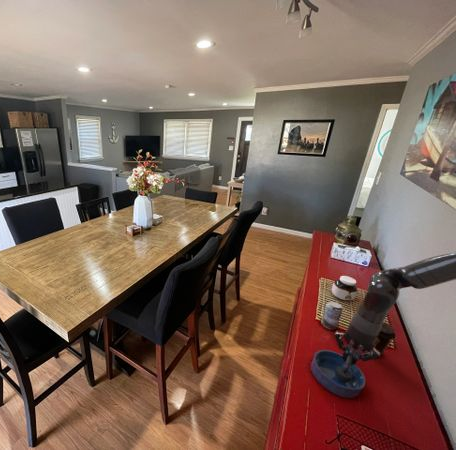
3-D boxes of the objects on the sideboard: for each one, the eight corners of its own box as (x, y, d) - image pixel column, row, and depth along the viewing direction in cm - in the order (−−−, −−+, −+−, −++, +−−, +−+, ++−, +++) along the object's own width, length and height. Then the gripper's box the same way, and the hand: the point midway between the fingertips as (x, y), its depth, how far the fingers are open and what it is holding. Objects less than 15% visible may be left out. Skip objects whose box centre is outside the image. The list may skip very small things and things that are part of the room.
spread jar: (332, 299, 129) (339, 281, 125) (326, 287, 139) (332, 270, 135) (359, 304, 126) (367, 286, 121) (350, 291, 136) (358, 274, 131)
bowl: (363, 378, 88) (368, 369, 86) (356, 409, 78) (361, 399, 76) (316, 352, 98) (320, 343, 96) (305, 376, 88) (308, 367, 86)
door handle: (348, 385, 84) (355, 371, 81) (333, 376, 86) (340, 362, 84) (355, 358, 94) (362, 345, 91) (342, 350, 96) (348, 338, 94)
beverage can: (323, 330, 109) (331, 309, 104) (317, 318, 116) (324, 298, 111) (338, 333, 108) (347, 312, 103) (332, 321, 114) (340, 301, 110)
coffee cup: (361, 338, 105) (372, 315, 100) (386, 351, 100) (399, 327, 95) (356, 348, 100) (367, 325, 95) (382, 362, 94) (395, 338, 89)
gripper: (338, 320, 84) (324, 355, 90) (390, 344, 75) (370, 381, 82) (342, 310, 89) (328, 344, 95) (392, 331, 80) (372, 367, 86)
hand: (348, 361), depth 88 cm, fingers closed on door handle, 1 cm apart
